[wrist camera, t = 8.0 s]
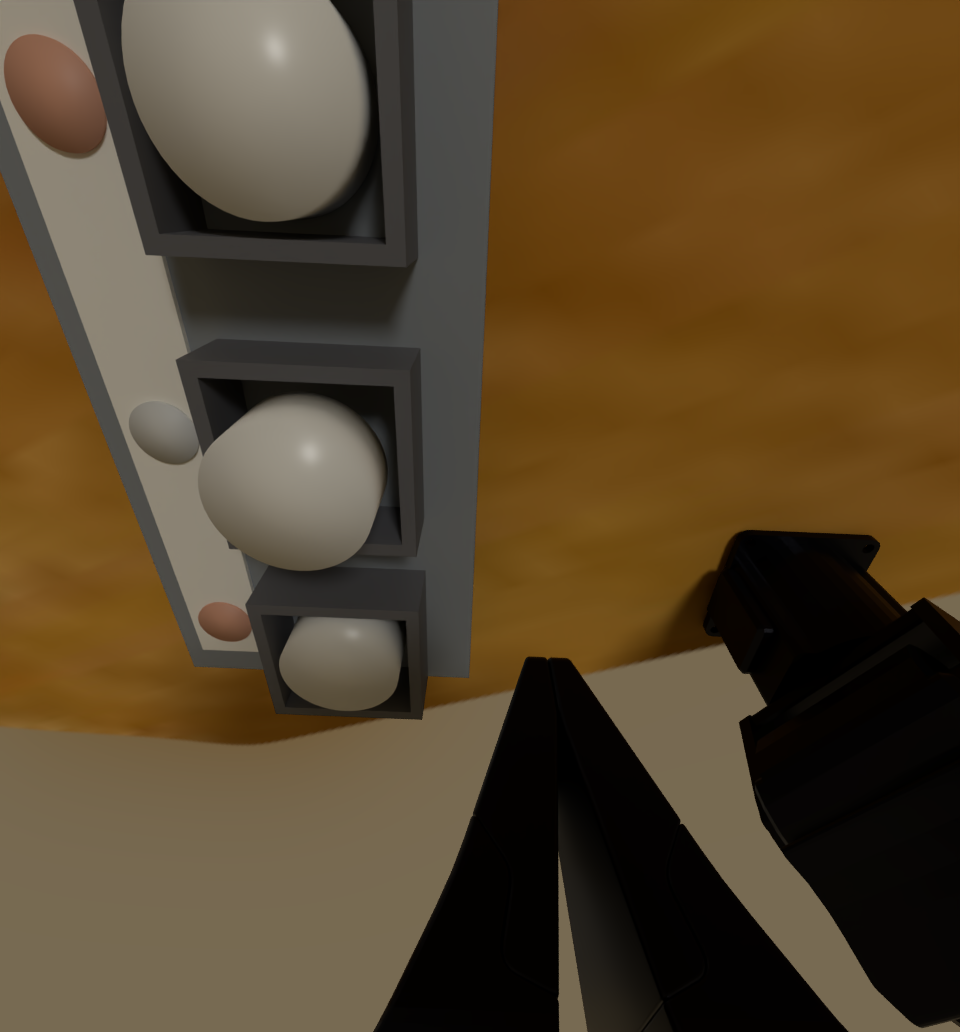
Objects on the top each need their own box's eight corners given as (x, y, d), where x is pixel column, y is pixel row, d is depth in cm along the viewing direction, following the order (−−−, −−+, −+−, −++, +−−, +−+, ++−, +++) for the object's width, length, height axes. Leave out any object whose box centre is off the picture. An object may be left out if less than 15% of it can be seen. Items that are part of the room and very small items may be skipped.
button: (371, -25, 12) (344, -74, 10) (384, 222, 14) (366, 226, 12) (157, -36, 12) (83, -87, 10) (210, 214, 14) (162, 216, 12)
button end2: (404, 592, 22) (395, 633, 20) (408, 669, 25) (400, 713, 22) (290, 587, 22) (269, 628, 20) (306, 664, 25) (289, 708, 22)
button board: (499, -30, 14) (503, -136, 9) (470, 641, 28) (466, 722, 23) (-15, -57, 14) (-250, -176, 9) (217, 630, 27) (166, 710, 23)
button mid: (383, 394, 15) (366, 426, 13) (392, 530, 18) (378, 574, 16) (219, 387, 15) (176, 418, 13) (252, 524, 18) (221, 567, 16)
